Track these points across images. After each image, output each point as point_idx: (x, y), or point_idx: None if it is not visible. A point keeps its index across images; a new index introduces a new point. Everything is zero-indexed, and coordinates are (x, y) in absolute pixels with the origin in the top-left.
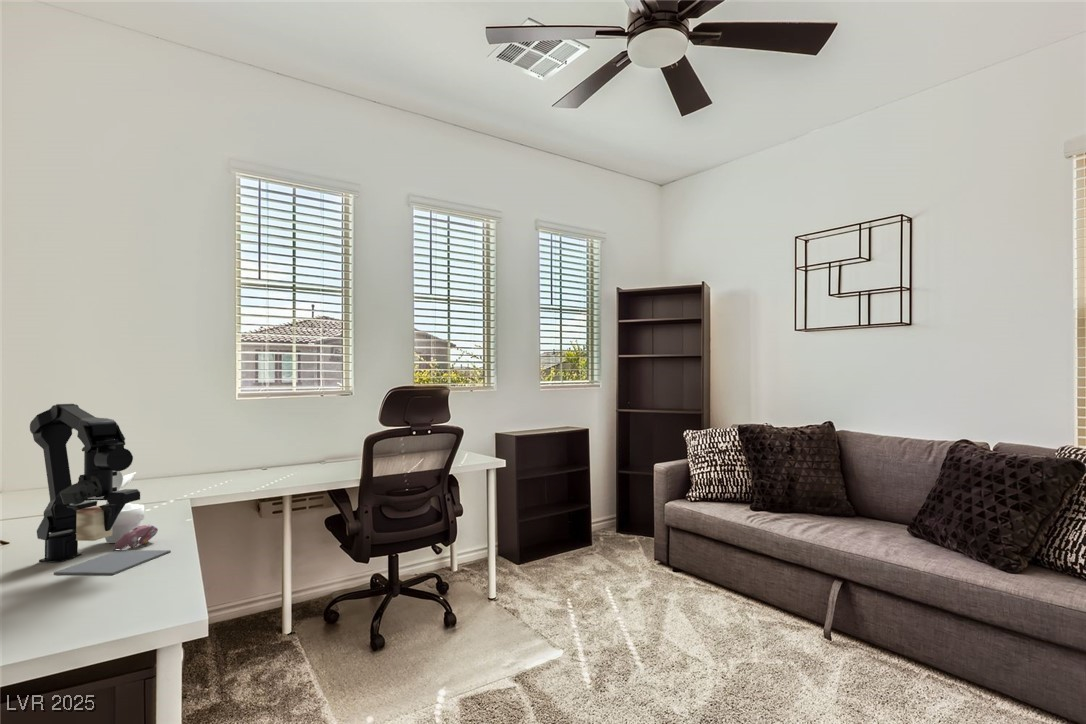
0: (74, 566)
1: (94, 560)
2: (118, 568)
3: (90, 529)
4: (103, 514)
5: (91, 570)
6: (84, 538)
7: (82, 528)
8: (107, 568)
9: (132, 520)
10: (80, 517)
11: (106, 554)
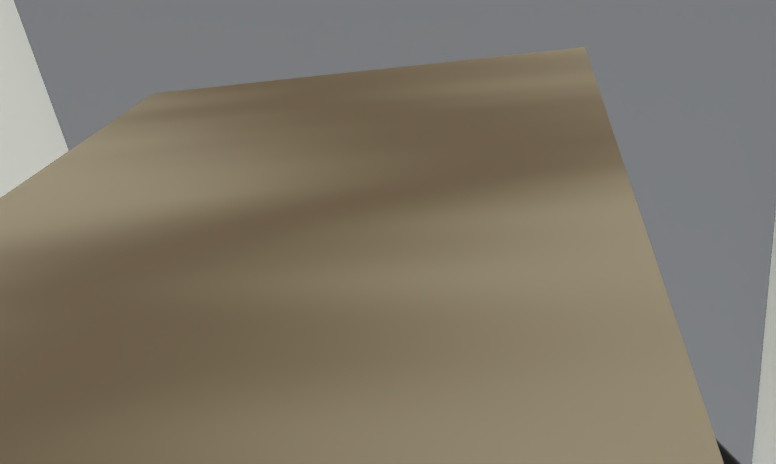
0: (729, 77)
1: (679, 281)
2: (105, 86)
3: (127, 175)
4: None
5: None
6: (366, 82)
7: (388, 171)
8: (223, 68)
9: None
10: (407, 408)
11: (737, 447)
